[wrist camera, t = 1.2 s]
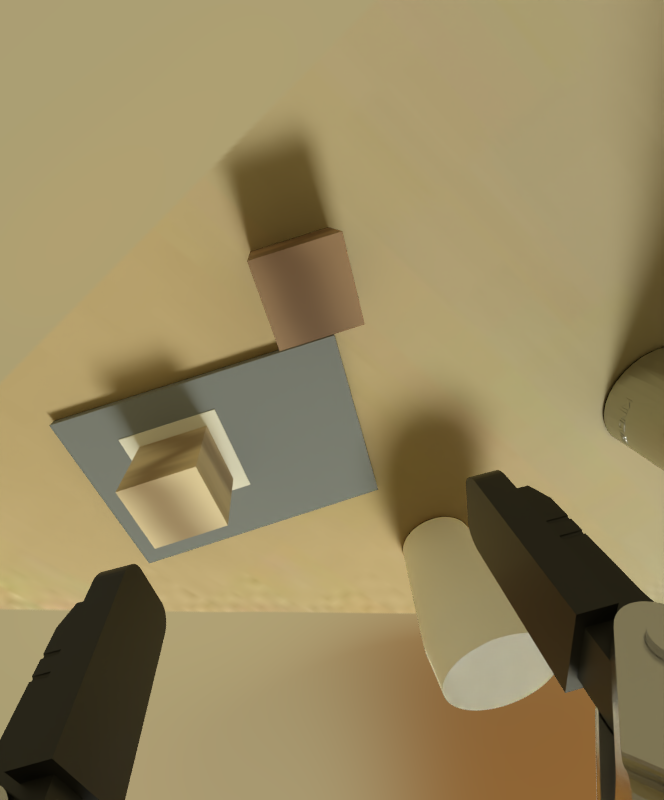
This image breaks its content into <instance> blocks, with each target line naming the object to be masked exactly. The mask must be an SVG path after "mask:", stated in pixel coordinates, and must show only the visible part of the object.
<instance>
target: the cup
mask: <svg viewBox="0 0 664 800" xmlns="http://www.w3.org/2000/svg"><path fill="white" fill-rule="evenodd" d="M403 554H404V559H405V563H406V568H407V573H408V577H409V582H410V586H411V591H412V595H413V600H414V604H415V609H416V614H417V617H418V623H419V627H420V632H421V636H422V640H423V645H424V649H425V652H426V655H427V658H428V660H429V662H430V664H431V666H432V668H433V671H434V673H435V675H436V678H437V680H438V682H439V685H440V687H441V690H442V692H443V695H444V697H445V699H446V700H447V701H448V702H449V703H450V704H452V705H453V706H455V707H457V708H460V709H465V710H488V709H494V708H498V707H502V706H505V705H508V704H511V703H513V702H516V701H518V700H521V699H523V698H525V697H526V696H528V695H530V694H532V693H533V692H535V691H536V690H538V689H539V688H540V687H541V686H543V685H544V684H545V683H546V682H547V681H548V680H549V679H550V678H551V677H552V676H553V675H554V674H553V672H552V670H551V669H550V667H549V666H548V664H547V662H546V661H545V659H544V657H543V656H542V654H541V653H540V651H539V649H538V648H537V646H536V644H535V643H534V641H533V640H532V638H531V636H530V635H529V633H528V631H527V630H526V628H525V626H524V625H523V623H522V622H521V620H520V618H519V617H518V615H517V613H516V612H515V610H514V609H513V607H512V605H511V604H510V602H509V600H508V599H507V597H506V596H505V594H504V592H503V591H502V589H501V587H500V586H499V584H498V583H497V581H496V579H495V578H494V576H493V574H492V573H491V571H490V570H489V568H488V566H487V565H486V563H485V561H484V560H483V558H482V557H481V555H480V553H479V552H478V550H477V548H476V546H475V544H474V542H473V539H472V537H471V534H470V530H469V528H468V527H467V526H466V525H465V524H464V523H463V522H462V521H460V520H458V519H456V518H452V517H439V518H434V519H431V520H428V521H426V522H424V523H422V524H420V525H419V526H417V527H416V528H415V529H414V530H413V531H412V532H411V533H410V534H409V535H408V537H407V538H406V540H405V542H404V546H403Z"/></svg>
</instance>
